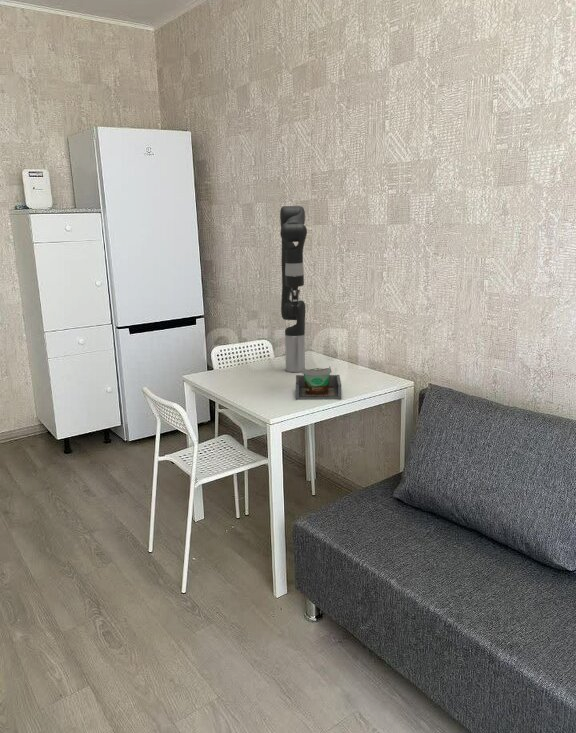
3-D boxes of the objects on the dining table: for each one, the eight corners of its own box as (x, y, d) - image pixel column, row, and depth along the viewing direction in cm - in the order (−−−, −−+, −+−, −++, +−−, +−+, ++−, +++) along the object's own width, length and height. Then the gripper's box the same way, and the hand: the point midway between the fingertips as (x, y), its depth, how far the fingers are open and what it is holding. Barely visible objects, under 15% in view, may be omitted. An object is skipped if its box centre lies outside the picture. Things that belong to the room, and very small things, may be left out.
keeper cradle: (296, 389, 253) (296, 375, 252) (339, 388, 253) (339, 374, 251) (295, 399, 239) (295, 384, 237) (341, 399, 238) (341, 384, 237)
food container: (305, 395, 239) (305, 371, 237) (302, 391, 245) (301, 367, 243) (335, 393, 242) (335, 369, 239) (330, 389, 248) (330, 365, 245)
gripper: (285, 272, 252) (286, 310, 256) (285, 276, 238) (286, 316, 242) (303, 272, 252) (304, 310, 256) (304, 275, 238) (304, 316, 242)
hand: (295, 313), depth 249 cm, fingers open, 8 cm apart
